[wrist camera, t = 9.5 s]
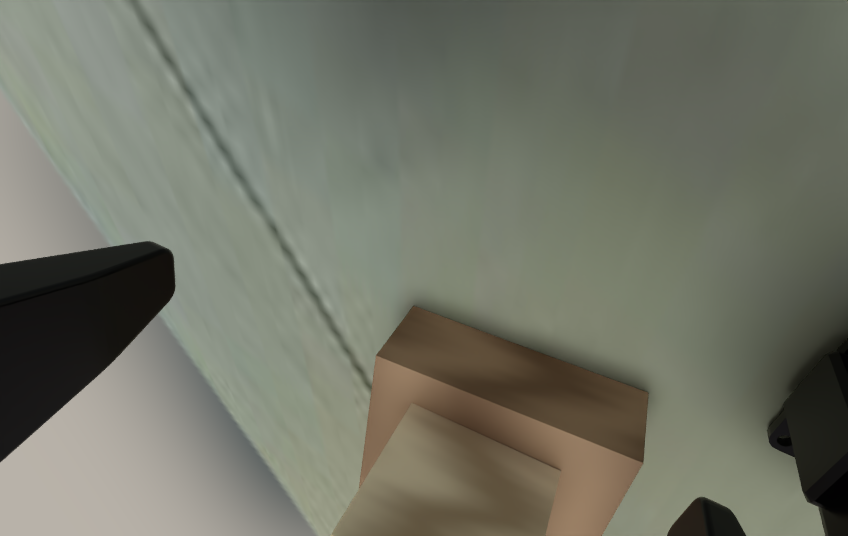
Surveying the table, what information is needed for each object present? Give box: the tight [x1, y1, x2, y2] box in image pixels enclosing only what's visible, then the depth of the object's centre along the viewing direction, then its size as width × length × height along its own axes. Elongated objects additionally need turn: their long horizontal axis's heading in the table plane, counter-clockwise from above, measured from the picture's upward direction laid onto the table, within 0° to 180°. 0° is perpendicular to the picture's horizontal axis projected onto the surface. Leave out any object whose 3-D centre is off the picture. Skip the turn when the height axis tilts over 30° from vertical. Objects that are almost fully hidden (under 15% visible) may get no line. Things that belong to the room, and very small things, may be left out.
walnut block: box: [359, 306, 648, 536], centre depth 24 cm, size 10×10×4 cm
